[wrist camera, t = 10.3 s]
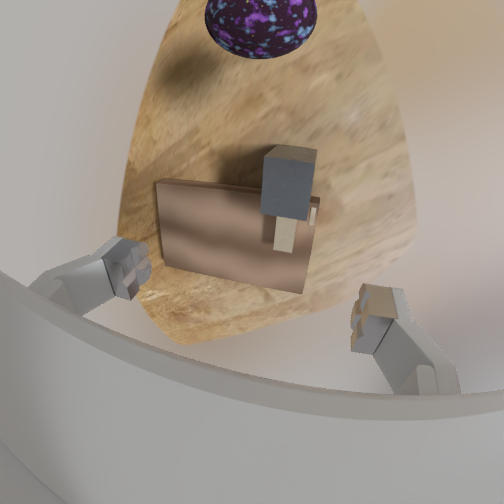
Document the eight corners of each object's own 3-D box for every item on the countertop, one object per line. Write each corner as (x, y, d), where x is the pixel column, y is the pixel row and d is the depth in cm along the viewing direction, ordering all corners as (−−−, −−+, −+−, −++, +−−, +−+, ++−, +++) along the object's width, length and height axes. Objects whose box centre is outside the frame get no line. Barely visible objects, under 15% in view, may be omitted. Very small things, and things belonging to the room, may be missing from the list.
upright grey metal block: (278, 144, 26) (264, 156, 20) (316, 149, 25) (314, 163, 20) (270, 233, 32) (256, 266, 26) (304, 239, 31) (297, 274, 25)
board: (164, 178, 32) (155, 183, 30) (319, 197, 28) (319, 204, 27) (171, 258, 38) (164, 266, 37) (303, 284, 35) (302, 294, 33)
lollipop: (254, 79, 23) (185, 58, 11) (250, 22, 20) (183, -35, 8) (321, 78, 22) (320, 45, 9) (317, 19, 18) (307, -54, 6)
